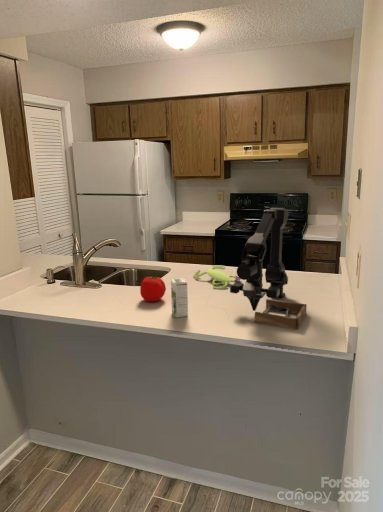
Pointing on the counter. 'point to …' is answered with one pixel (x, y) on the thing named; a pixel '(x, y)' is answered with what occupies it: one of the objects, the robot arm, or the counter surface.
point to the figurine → (218, 276)
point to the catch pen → (282, 320)
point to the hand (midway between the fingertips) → (254, 310)
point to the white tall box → (179, 297)
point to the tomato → (152, 289)
